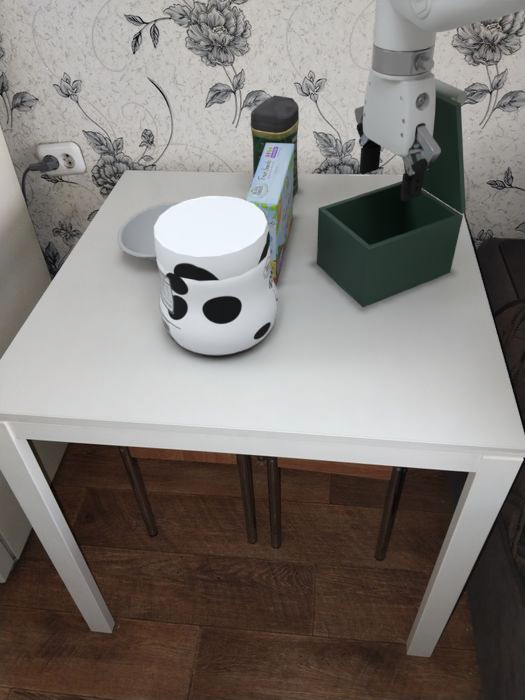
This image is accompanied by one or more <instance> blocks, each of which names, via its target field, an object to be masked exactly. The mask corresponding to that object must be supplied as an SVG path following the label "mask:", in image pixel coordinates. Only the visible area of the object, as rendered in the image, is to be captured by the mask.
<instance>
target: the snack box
mask: <svg viewBox="0 0 525 700" xmlns="http://www.w3.org/2000/svg"><path fill="white" fill-rule="evenodd" d="M294 145H295V144H287V143H266V145H265V148H264V150H263V153H262V156H261V159H260V162H259V165H258V168H257V170H256V173H255V176H254V179H253V178H252V181H251V184H250V187H249V190H248V193H247V196H246V199H245V201H248V202H250V203H253V204H255V205H256V206H257V207H258V208H259V209H261V210H262V211H263V212H264V215H265V217H266V220H267V223H268V227H269V233H270V271H271V275H272V278H273V281H274V283H275V286H276V285H277V284H278V281H279V278H280V277H279V276H280V272H281V268H282V264H283V259H284V255H285V252H286V248H287V244H288V240H289V236H290V232H291V228H292V224H293V220H294V196H293V174H294Z"/></svg>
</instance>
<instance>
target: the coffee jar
mask: <svg viewBox="0 0 525 700" xmlns="http://www.w3.org/2000/svg"><path fill="white" fill-rule="evenodd" d="M299 110H300V108H299V105H298V103H297V101H295V100H294V98H293V97H288V96H281V95H273V96H271V97H269V98H266V99H265V100H263V101H262V102H261V103H259V104H258V105H256V107H255V108H254V109H253V110H252V111H251V112H250V131H251V136H252V166H253V167H252V168H253V169H252V170H253V171H252V180H253V179H254V176H255V173H256V170H257V168H258V165H259V162H260V159H261V156H262V153H263V150H264V148H265V145H266V143H287V144H295V145H294V174H293V197H295V195H296V193H297V192H298V189H299V172H298V170H299V169H298V134H299V122H300V113H299Z"/></svg>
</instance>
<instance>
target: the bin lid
mask: <svg viewBox="0 0 525 700" xmlns="http://www.w3.org/2000/svg"><path fill="white" fill-rule="evenodd" d="M435 92H436V99H435V118H434V129H433V138H434V140H435V141H436V143H437V144H438V146H439V147H440V149H441V152H440V154H439V156H438V157H437V159H436V160H435V162H434V165H433V166H431V167H430V168H428V170H427V171H424V176H423V183H422V189H423V190H424V191H426V192H427V193H429V194H430V195H432V196H433V197H435V198H437V199H438V200H440V201H441V202H443V203H444V204H446V205H447V206H449V207H450V208H452V209H454V210H455V211H457V212H458V213H459V214H461V215H463V214H465V213H466V211H467V210H466V209H467V206H466V187H465V165H464V162H465V161H464V143H463V141H464V139H463V120H462V119H463V118H462V105H463V104H464V103H465V102H466V100H467V97H468V94H467V91H465V90H462V89H461V88H458V87H456V86H454V85H451V84H449V83H447V82H445V81H442V80H440V79H438V78H436V77H435ZM412 149H414V146H413V145H412V147H411V148H409V150H412ZM411 158H412V161H413V164H415V163H416V162H418V161H417V158H416V155H412V156H411ZM403 168H404V173H407V171H406V168H405V165H404V164H403Z"/></svg>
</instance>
